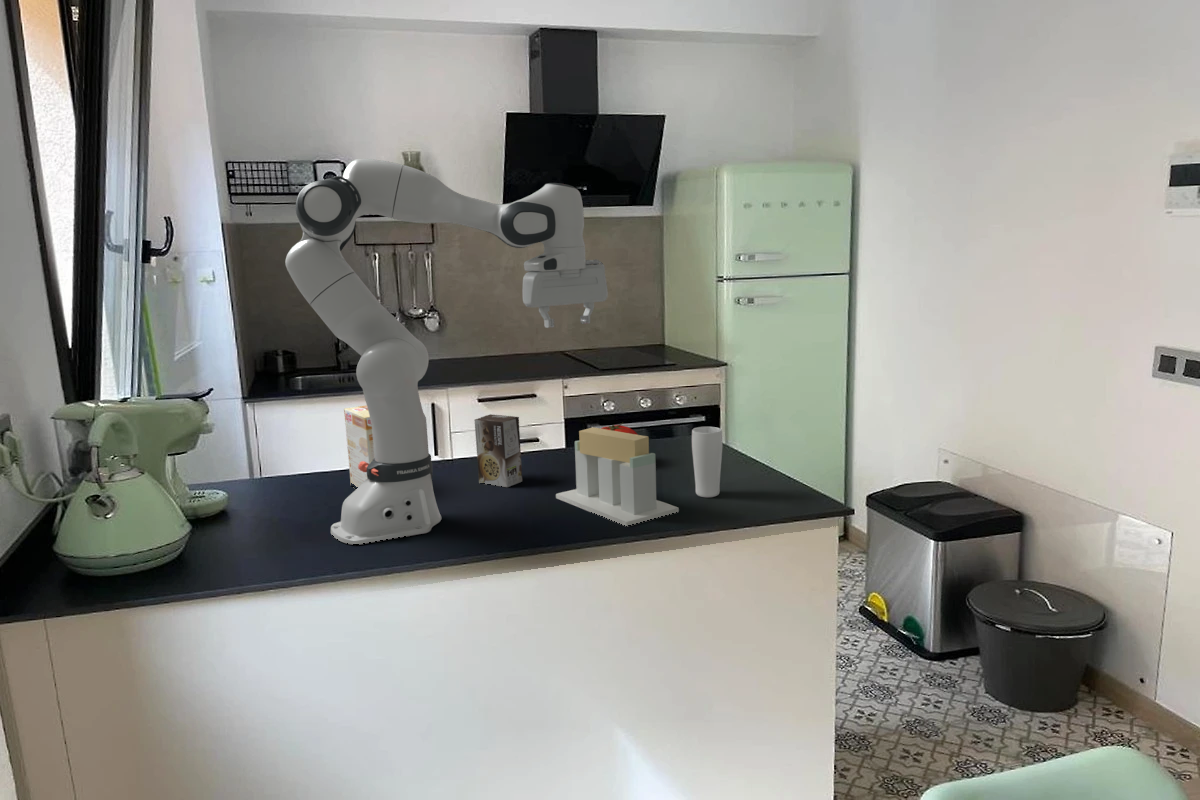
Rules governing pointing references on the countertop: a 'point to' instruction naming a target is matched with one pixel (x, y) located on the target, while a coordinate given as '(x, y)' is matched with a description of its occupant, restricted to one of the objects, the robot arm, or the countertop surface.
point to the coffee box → (498, 450)
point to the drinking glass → (707, 460)
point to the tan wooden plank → (612, 444)
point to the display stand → (617, 488)
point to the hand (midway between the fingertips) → (567, 325)
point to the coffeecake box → (358, 441)
